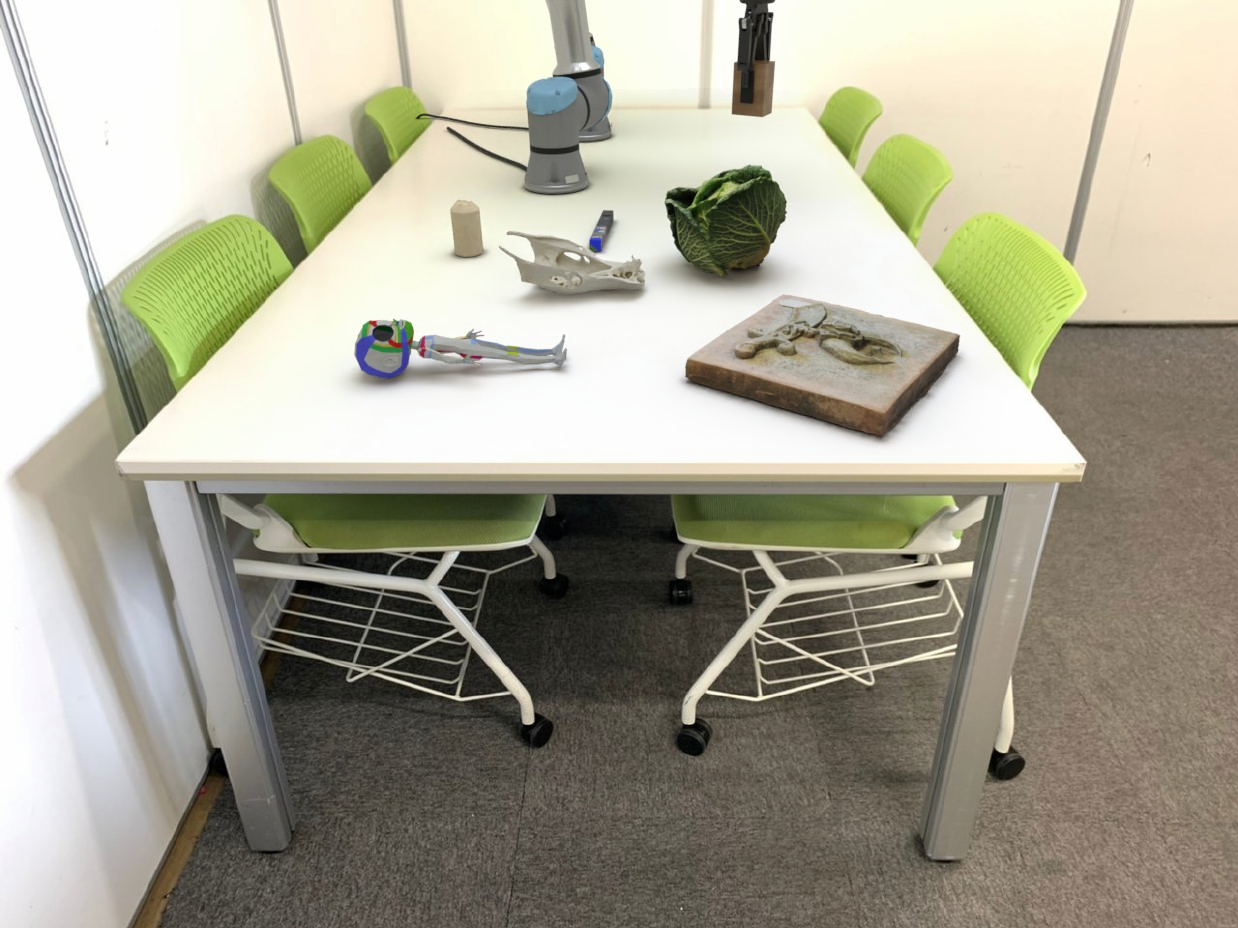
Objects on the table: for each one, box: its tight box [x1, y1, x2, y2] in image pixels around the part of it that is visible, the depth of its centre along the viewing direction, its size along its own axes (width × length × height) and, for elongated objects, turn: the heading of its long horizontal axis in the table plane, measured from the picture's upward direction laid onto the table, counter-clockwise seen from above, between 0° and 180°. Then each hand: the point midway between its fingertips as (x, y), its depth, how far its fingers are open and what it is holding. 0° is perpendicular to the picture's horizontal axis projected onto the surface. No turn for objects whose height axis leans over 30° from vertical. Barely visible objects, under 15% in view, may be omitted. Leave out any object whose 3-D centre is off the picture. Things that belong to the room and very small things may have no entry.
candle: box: [449, 199, 484, 258], centre depth 172 cm, size 6×6×10 cm
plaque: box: [684, 294, 961, 438], centre depth 129 cm, size 30×7×30 cm
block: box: [731, 60, 776, 118], centre depth 197 cm, size 5×7×11 cm
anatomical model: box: [498, 230, 646, 295], centre depth 156 cm, size 15×9×25 cm
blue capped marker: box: [588, 209, 615, 252], centre depth 182 cm, size 2×2×20 cm
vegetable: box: [664, 164, 788, 278], centre depth 161 cm, size 20×19×20 cm
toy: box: [353, 318, 568, 379], centre depth 130 cm, size 10×8×30 cm
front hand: (751, 100), depth 198 cm, fingers closed on block, 5 cm apart
